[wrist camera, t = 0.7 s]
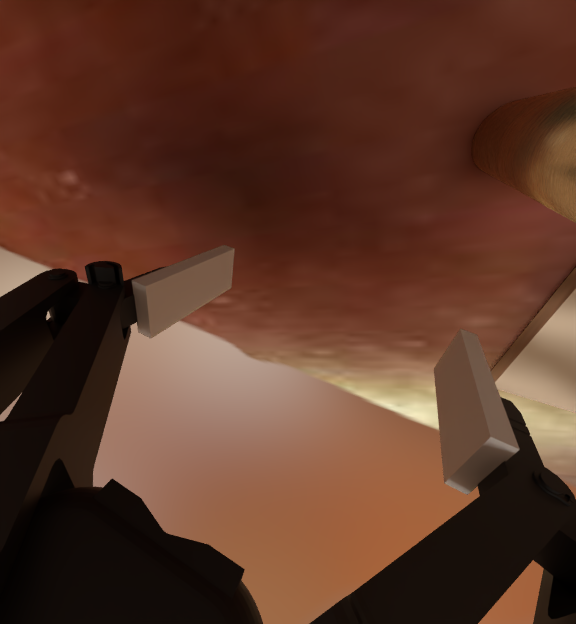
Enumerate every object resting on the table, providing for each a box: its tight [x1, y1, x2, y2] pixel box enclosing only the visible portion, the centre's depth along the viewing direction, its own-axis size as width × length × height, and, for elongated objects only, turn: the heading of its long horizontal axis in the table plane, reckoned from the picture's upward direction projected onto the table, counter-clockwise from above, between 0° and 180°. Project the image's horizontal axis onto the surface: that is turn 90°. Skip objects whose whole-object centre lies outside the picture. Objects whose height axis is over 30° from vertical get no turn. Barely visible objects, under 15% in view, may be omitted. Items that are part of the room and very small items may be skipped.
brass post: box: [471, 87, 576, 223], centre depth 12 cm, size 4×4×14 cm
